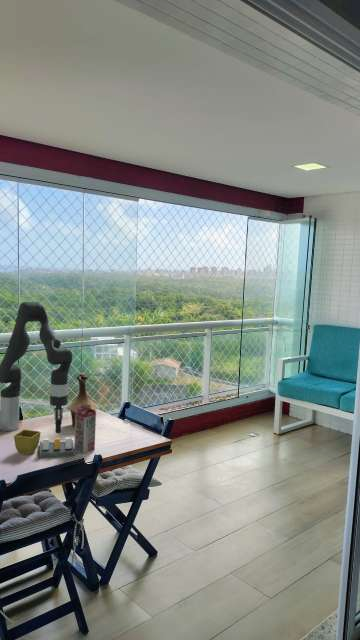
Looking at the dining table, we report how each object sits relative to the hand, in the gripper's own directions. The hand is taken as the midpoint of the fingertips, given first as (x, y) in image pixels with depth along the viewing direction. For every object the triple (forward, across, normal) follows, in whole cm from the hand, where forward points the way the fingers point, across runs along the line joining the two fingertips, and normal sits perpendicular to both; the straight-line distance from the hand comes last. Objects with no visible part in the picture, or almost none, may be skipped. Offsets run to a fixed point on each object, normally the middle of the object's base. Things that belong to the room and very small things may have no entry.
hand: (58, 432), depth 213 cm
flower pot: (+12, -10, -13) cm, 21 cm away
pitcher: (+12, -47, +14) cm, 51 cm away
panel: (+12, -11, 0) cm, 16 cm away
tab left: (+10, -7, -5) cm, 13 cm away
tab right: (+10, -7, +5) cm, 13 cm away
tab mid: (+10, -7, 0) cm, 12 cm away
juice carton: (+12, -10, +12) cm, 20 cm away
